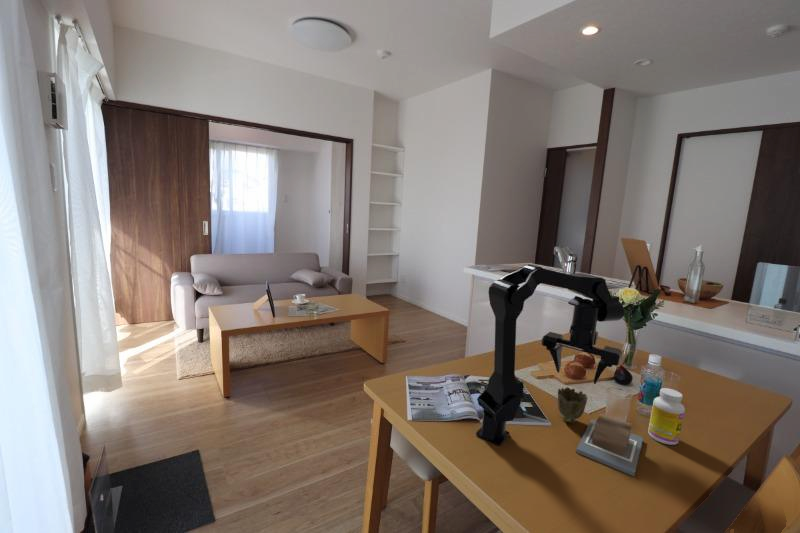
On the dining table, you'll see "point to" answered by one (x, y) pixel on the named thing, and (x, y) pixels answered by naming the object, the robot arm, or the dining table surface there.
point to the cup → (571, 404)
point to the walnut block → (612, 434)
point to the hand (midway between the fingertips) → (576, 377)
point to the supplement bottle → (667, 417)
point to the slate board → (611, 452)
